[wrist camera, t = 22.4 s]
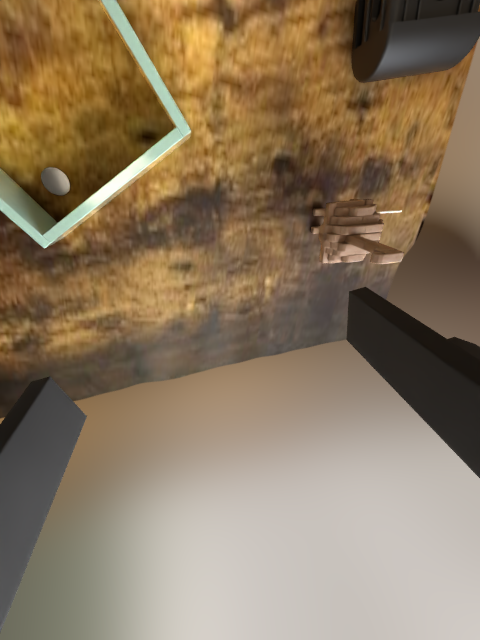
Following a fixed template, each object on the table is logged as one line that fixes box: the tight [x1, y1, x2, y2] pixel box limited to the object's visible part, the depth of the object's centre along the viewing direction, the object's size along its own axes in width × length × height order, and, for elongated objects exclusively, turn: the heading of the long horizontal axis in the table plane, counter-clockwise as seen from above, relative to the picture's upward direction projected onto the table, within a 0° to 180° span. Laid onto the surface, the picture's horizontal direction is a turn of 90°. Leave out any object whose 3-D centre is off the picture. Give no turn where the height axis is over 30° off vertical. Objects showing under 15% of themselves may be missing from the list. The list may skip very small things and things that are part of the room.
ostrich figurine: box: [311, 199, 404, 264], centre depth 29 cm, size 17×7×18 cm, turn 93°
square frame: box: [0, 0, 191, 248], centre depth 22 cm, size 20×20×5 cm
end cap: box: [352, 0, 480, 83], centre depth 24 cm, size 10×7×7 cm
